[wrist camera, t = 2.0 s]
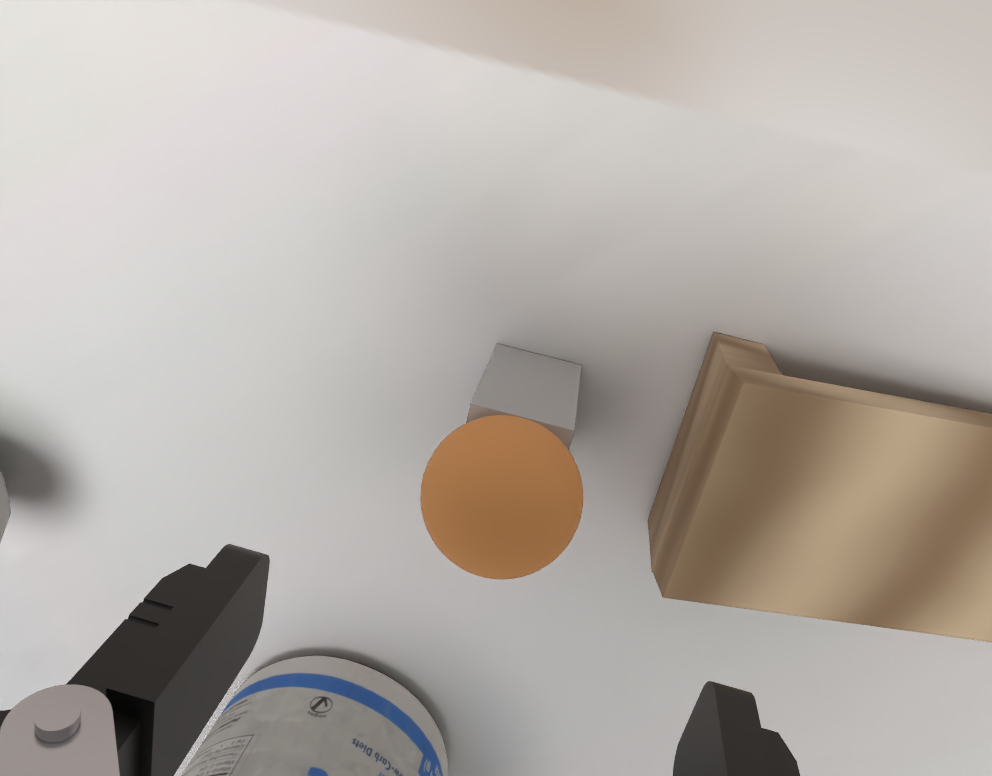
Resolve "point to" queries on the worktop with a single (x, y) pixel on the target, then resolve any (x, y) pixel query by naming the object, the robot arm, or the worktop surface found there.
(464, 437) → the ball
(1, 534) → the donut
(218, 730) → the supplement tub
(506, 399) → the hollow grey box
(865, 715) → the worktop surface
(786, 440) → the ramp
